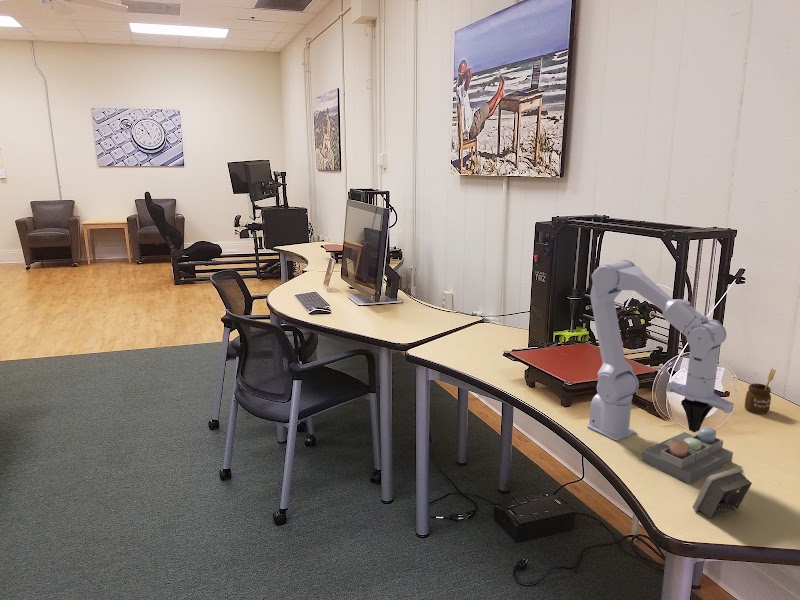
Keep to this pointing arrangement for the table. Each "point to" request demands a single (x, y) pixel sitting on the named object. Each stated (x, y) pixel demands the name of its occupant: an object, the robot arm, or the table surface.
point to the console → (688, 459)
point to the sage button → (693, 444)
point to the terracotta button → (678, 448)
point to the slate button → (706, 435)
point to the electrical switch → (722, 493)
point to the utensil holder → (759, 396)
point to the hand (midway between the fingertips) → (694, 430)
